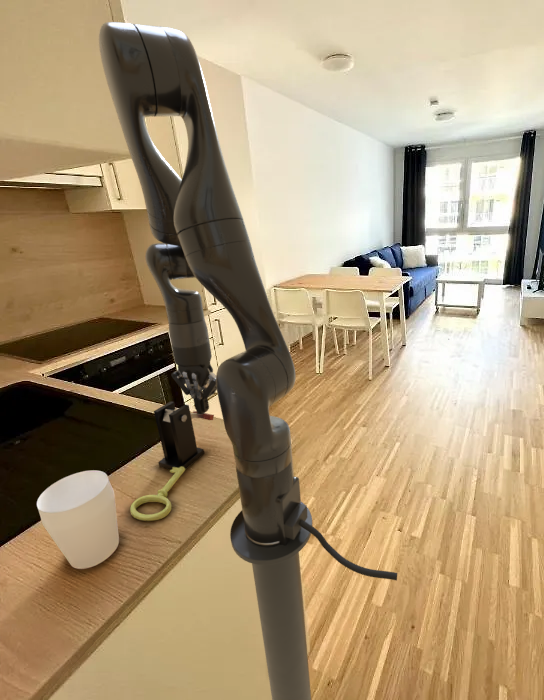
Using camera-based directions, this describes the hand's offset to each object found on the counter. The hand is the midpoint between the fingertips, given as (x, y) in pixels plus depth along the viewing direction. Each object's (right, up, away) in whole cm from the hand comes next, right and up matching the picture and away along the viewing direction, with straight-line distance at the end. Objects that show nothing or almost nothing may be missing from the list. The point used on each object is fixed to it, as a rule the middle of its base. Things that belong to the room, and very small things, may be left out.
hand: (202, 411), depth 82 cm
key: (-2, -14, -15) cm, 20 cm away
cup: (-7, -18, -25) cm, 32 cm away
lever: (-2, -1, -5) cm, 5 cm away
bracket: (-3, -10, -4) cm, 11 cm away
